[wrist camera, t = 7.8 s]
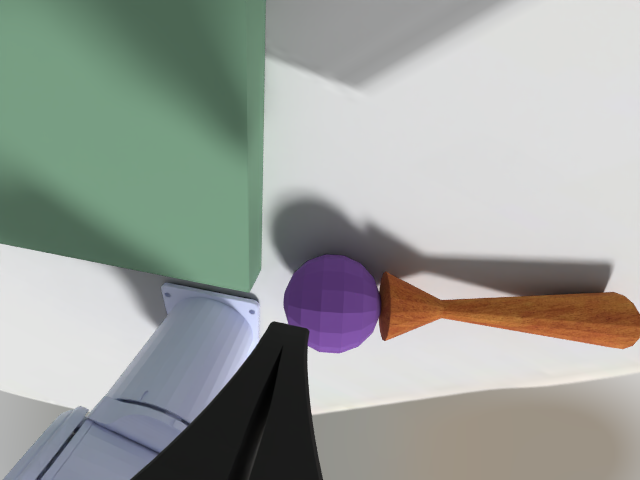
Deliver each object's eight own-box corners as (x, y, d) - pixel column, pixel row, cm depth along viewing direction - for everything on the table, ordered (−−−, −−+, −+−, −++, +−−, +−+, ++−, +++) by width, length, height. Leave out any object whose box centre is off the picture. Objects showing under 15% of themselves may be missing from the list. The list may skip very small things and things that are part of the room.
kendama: (611, 390, 18) (281, 366, 19) (559, 306, 22) (293, 289, 23) (700, 342, 14) (271, 314, 14) (615, 250, 18) (288, 233, 19)
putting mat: (261, 269, 22) (249, 292, 19) (-39, 211, 23) (-80, 227, 21) (266, -15, 13) (245, -28, 11) (-220, -82, 14) (-323, -106, 12)
